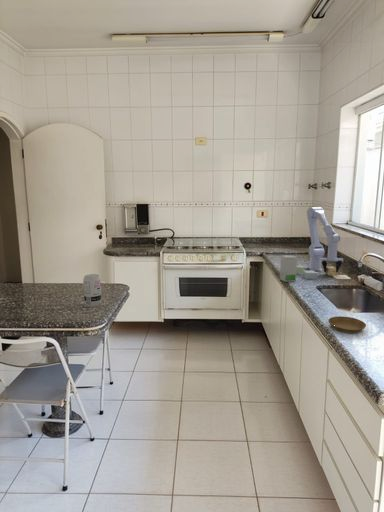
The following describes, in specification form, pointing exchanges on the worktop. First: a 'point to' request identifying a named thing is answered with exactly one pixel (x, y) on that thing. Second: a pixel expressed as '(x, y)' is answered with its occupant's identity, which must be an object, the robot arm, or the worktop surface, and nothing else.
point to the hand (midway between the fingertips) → (330, 272)
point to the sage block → (300, 270)
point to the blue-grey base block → (310, 274)
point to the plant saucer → (347, 324)
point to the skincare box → (288, 268)
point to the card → (341, 277)
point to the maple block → (330, 271)
